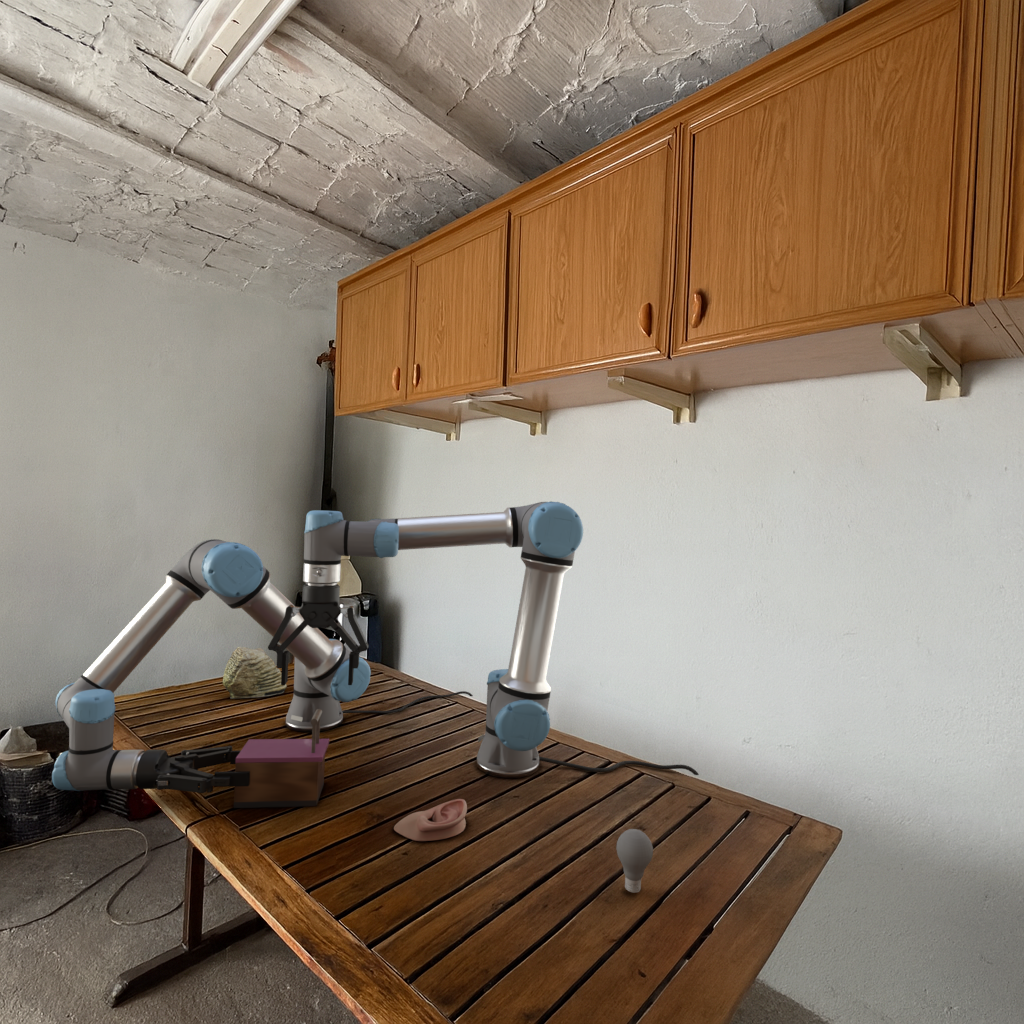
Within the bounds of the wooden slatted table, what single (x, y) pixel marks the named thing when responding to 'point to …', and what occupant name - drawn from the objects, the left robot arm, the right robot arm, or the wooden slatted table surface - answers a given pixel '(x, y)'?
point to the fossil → (252, 674)
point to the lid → (286, 748)
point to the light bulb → (634, 857)
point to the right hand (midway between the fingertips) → (317, 683)
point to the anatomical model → (434, 822)
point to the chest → (280, 784)
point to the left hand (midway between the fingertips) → (255, 767)
